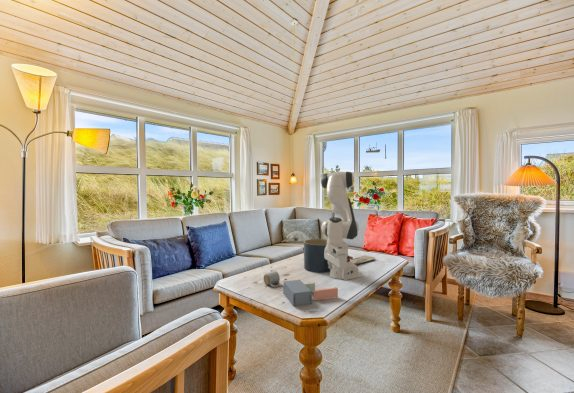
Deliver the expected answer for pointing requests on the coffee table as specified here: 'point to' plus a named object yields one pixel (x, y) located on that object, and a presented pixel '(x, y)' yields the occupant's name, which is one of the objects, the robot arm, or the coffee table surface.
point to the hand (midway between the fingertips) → (334, 271)
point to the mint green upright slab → (310, 286)
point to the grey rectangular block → (297, 292)
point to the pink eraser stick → (325, 293)
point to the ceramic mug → (272, 278)
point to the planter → (315, 255)
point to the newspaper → (362, 259)
